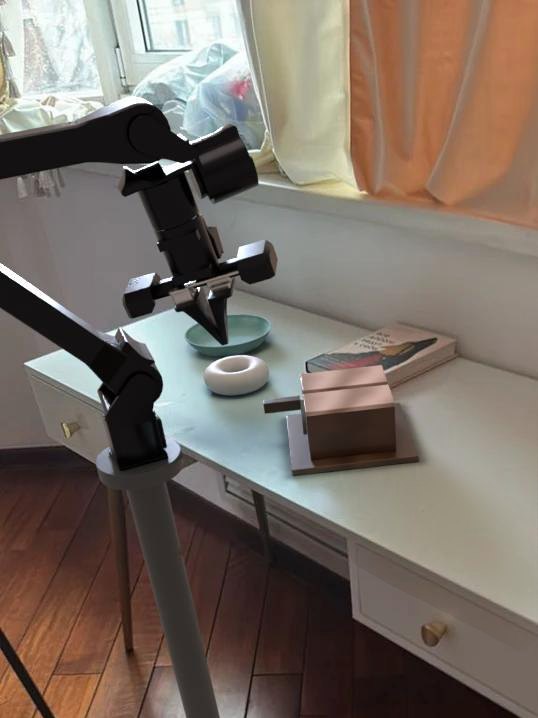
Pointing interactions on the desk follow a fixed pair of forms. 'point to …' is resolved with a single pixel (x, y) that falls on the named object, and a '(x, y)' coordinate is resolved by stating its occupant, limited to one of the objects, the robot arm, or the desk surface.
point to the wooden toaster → (348, 423)
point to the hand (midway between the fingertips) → (225, 343)
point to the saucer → (231, 336)
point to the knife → (286, 407)
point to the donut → (236, 375)
